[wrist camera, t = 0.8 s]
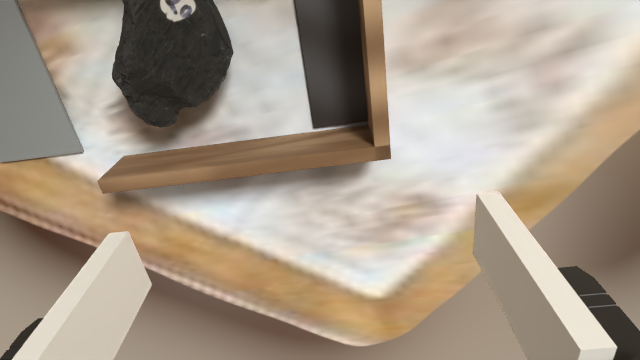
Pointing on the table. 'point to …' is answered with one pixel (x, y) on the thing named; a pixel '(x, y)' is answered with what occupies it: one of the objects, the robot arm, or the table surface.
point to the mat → (28, 96)
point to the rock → (170, 56)
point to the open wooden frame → (326, 103)
